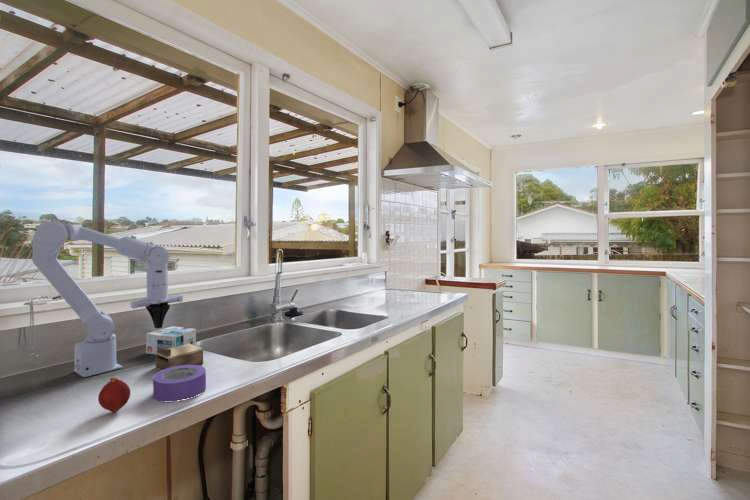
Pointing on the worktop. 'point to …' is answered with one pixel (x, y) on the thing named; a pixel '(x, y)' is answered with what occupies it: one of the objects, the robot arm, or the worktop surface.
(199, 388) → the tape roll
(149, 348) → the light bulb box
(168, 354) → the lid
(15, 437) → the worktop surface
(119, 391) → the onion
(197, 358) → the walnut box
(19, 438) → the worktop surface
